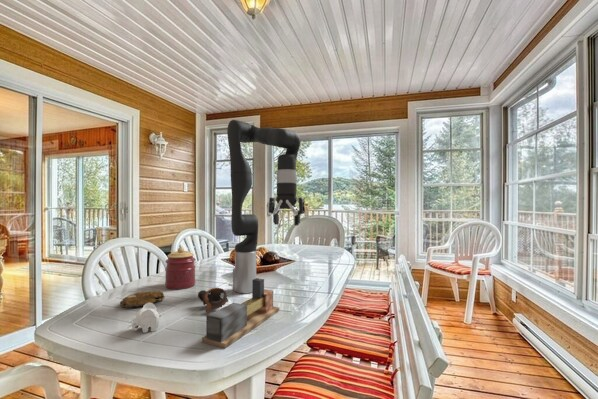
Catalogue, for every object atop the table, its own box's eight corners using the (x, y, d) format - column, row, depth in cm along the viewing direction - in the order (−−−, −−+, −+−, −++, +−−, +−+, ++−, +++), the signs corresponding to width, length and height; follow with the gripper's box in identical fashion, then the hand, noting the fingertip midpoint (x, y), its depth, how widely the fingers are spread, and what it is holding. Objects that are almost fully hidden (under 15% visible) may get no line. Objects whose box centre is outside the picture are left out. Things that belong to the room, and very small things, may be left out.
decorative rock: (158, 296, 123) (117, 306, 112) (158, 286, 123) (116, 295, 113) (169, 302, 115) (125, 313, 104) (168, 291, 115) (125, 301, 104)
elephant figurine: (129, 327, 91) (129, 304, 92) (163, 322, 95) (163, 300, 95) (126, 338, 84) (126, 312, 85) (163, 332, 88) (163, 308, 88)
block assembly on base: (225, 348, 79) (225, 319, 79) (202, 342, 82) (202, 314, 82) (279, 310, 106) (279, 289, 106) (260, 307, 109) (260, 286, 109)
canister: (159, 286, 136) (160, 247, 136) (186, 280, 146) (186, 244, 146) (173, 291, 127) (173, 250, 128) (200, 285, 137) (201, 247, 137)
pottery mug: (232, 304, 114) (233, 289, 110) (219, 324, 105) (220, 308, 101) (203, 294, 116) (203, 279, 112) (189, 313, 107) (189, 297, 103)
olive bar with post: (239, 320, 88) (239, 290, 88) (230, 318, 90) (231, 288, 90) (269, 302, 104) (269, 276, 104) (261, 301, 106) (261, 275, 106)
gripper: (265, 182, 113) (265, 224, 113) (299, 181, 107) (299, 226, 107) (275, 183, 119) (274, 223, 119) (307, 182, 114) (307, 225, 113)
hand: (286, 224), depth 113 cm, fingers open, 8 cm apart
